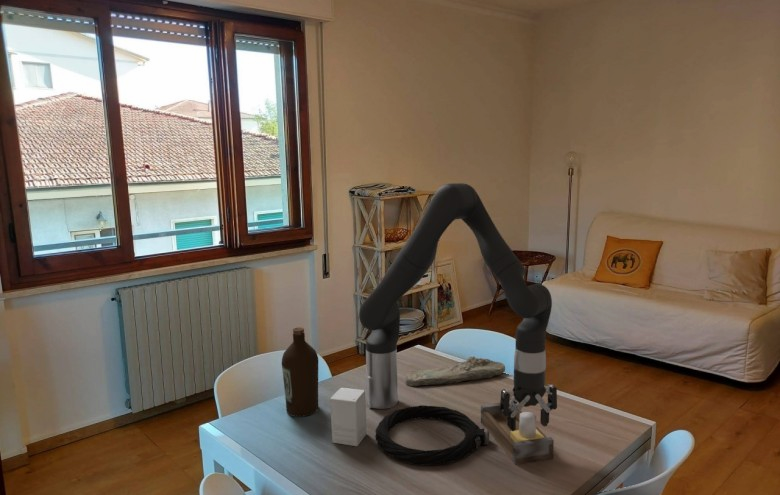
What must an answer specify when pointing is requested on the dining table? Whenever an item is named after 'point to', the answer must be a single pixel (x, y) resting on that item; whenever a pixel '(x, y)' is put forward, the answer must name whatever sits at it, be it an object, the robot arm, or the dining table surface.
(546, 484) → the dining table surface
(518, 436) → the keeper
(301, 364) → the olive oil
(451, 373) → the long grey stone
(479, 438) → the cable lock
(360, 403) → the supplement box
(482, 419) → the wooden tray
